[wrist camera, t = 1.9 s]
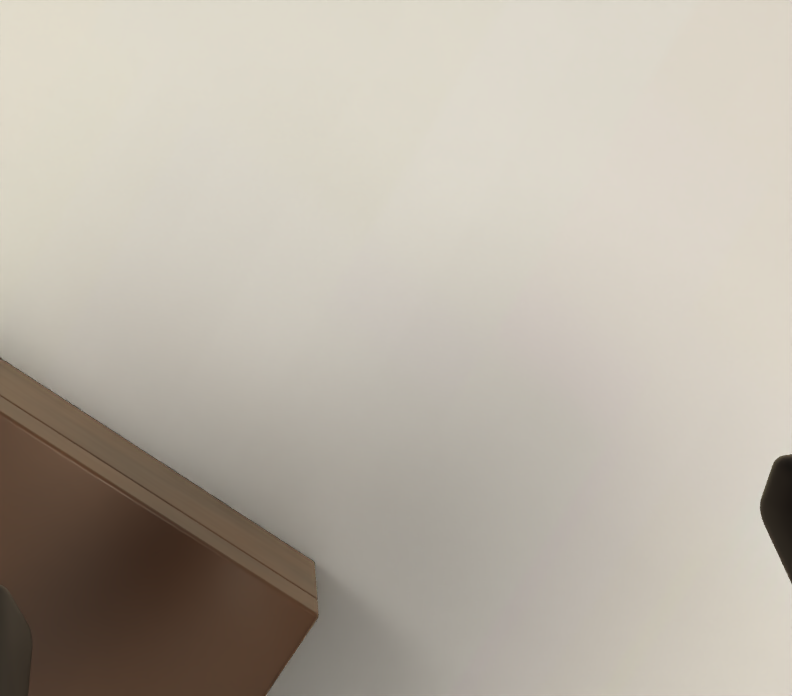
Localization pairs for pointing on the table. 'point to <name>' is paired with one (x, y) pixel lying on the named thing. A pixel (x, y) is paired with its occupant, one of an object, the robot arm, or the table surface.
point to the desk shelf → (135, 564)
